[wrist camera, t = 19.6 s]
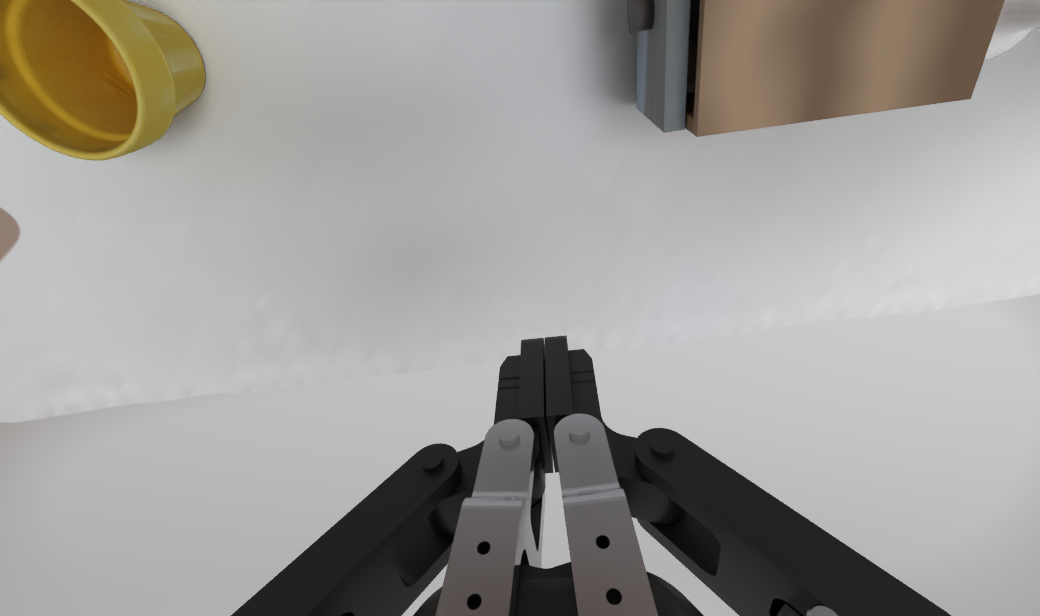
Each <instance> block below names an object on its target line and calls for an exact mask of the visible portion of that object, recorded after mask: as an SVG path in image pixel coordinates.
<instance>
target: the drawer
mask: <svg viewBox="0 0 1040 616" xmlns="http://www.w3.org/2000/svg"><path fill="white" fill-rule="evenodd" d="M689 21H690V0H628V24H629V30H630V33H633V32H636V95H637V108H638V109H639V110H640V111H641V112H642V113H643V114H644V115H645V116H646V117H647V118H649V119H650V120H651V121H652V122H653V123H654V124H655V125H656V126H657V127H658V128H660V129H661V130H662V131H663V132H671V131H678V130H685V110H686V93H691V92H695V85H696V66H697V47H696V46H694V45H693V44H692V43H691V42H689Z"/></svg>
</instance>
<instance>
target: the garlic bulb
mask: <svg viewBox="0 0 1040 616" xmlns="http://www.w3.org/2000/svg"><path fill="white" fill-rule="evenodd" d="M1039 27H1040V0H1005V2H1004V4H1003V7H1002V10H1001V13H1000V16H999V19H998V22H997V24H996V27H995V30H994V33H993V36H992V39H991V42H990V45H989V47H988V50H987V53H986V56H985V59H984V60H987V59H990V58H993V57H995V56H997V55H999V54H1001V53H1003V52H1005V51H1007V50H1009V49H1010V48H1012V47H1013V46H1014V45H1016V44H1017V43H1018V42H1019V41H1021V40H1022V39H1023V38H1024V37H1025V36H1026V35H1027V34H1028V33H1029V32H1030V31H1031V30H1032V29H1033V28H1039Z"/></svg>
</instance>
